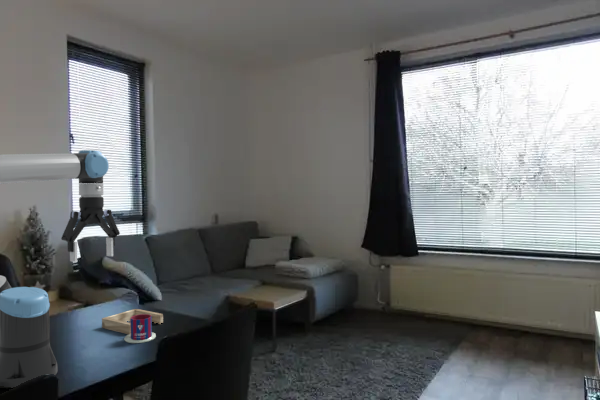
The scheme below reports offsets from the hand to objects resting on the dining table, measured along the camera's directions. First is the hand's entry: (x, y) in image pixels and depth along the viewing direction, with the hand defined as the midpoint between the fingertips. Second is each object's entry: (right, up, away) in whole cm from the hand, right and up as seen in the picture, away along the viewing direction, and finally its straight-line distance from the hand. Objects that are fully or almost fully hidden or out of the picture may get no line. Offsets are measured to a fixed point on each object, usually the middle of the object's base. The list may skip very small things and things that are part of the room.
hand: (92, 258), depth 153 cm
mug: (+17, -26, 0) cm, 31 cm away
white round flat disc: (+17, -27, -1) cm, 31 cm away
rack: (+9, -26, +13) cm, 31 cm away
